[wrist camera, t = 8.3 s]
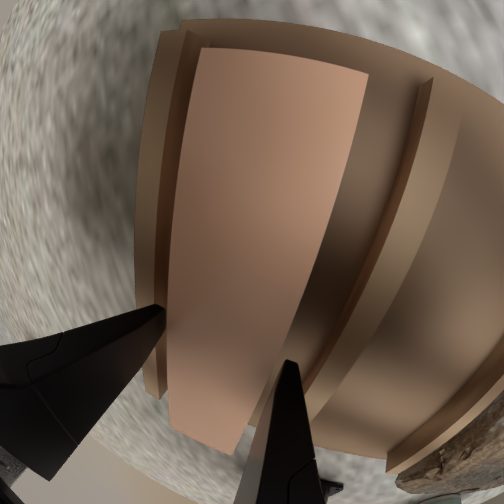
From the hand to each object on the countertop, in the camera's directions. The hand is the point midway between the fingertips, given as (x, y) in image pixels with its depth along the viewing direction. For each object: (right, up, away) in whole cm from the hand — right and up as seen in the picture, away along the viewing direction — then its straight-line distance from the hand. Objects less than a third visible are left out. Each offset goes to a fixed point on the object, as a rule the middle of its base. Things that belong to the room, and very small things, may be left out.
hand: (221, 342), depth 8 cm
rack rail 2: (+12, -2, +1) cm, 13 cm away
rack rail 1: (-2, +3, +4) cm, 6 cm away
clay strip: (+1, +1, +2) cm, 3 cm away
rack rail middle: (+5, 0, +2) cm, 5 cm away
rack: (+5, 0, +3) cm, 6 cm away
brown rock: (+23, -12, +2) cm, 26 cm away
